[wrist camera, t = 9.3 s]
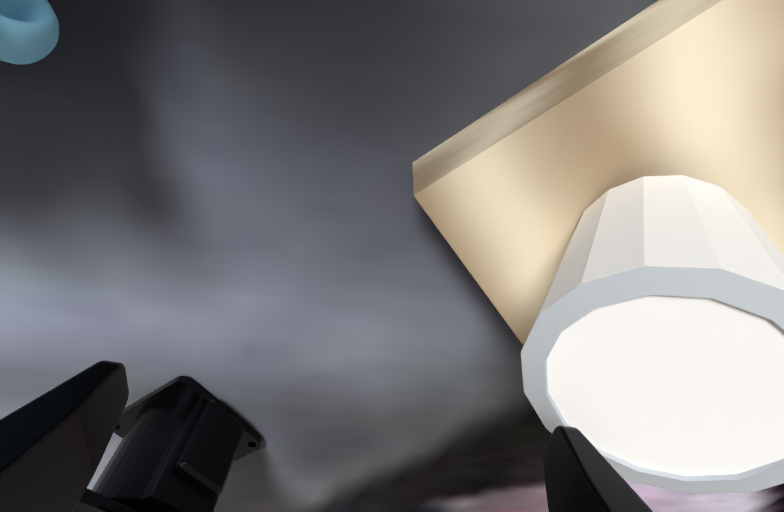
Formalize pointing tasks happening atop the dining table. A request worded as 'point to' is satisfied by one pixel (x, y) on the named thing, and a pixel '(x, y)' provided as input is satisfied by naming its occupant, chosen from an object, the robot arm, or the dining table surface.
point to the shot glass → (667, 339)
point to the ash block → (613, 141)
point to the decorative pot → (27, 30)
